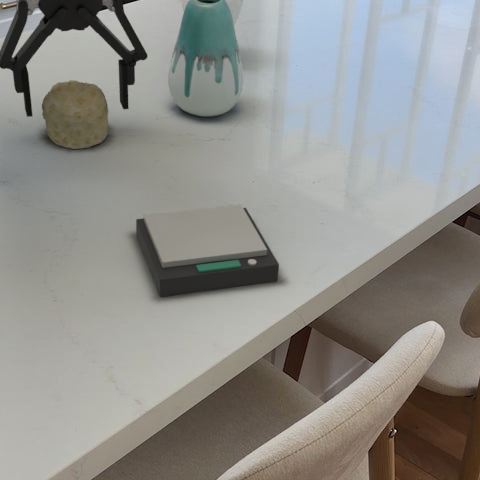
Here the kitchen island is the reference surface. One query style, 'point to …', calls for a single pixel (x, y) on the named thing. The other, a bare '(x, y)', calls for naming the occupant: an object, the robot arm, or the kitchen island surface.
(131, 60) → the robot arm
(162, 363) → the kitchen island surface
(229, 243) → the scale
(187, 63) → the vase
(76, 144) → the beige textured cylinder
